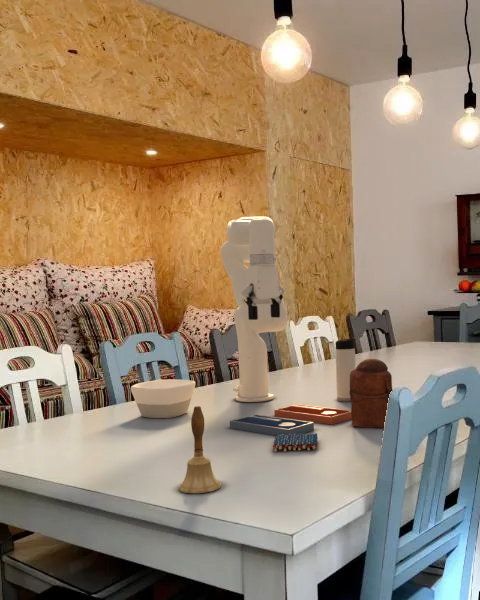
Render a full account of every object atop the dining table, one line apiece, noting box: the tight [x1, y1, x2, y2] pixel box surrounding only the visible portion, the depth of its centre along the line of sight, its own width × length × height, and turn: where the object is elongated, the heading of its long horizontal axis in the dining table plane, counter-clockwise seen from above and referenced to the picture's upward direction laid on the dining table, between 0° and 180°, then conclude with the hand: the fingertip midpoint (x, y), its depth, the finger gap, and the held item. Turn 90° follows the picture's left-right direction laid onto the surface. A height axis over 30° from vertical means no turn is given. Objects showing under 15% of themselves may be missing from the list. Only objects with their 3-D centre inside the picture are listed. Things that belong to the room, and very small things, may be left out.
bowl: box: [130, 379, 196, 419], centre depth 219 cm, size 18×18×9 cm
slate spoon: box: [248, 415, 295, 429], centre depth 193 cm, size 16×5×2 cm, turn 50°
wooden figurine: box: [350, 358, 393, 429], centre depth 192 cm, size 12×6×18 cm, turn 75°
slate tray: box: [229, 414, 315, 437], centre depth 193 cm, size 21×10×2 cm, turn 50°
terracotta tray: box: [273, 403, 352, 425], centre depth 207 cm, size 21×10×2 cm, turn 50°
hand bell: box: [178, 405, 222, 494], centre depth 142 cm, size 8×8×16 cm
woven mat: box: [272, 432, 319, 452], centre depth 173 cm, size 10×11×2 cm
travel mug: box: [335, 337, 357, 403], centre depth 232 cm, size 6×7×20 cm
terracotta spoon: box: [290, 404, 337, 417], centre depth 207 cm, size 16×5×2 cm, turn 50°
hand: (264, 318), depth 215 cm, fingers open, 9 cm apart
